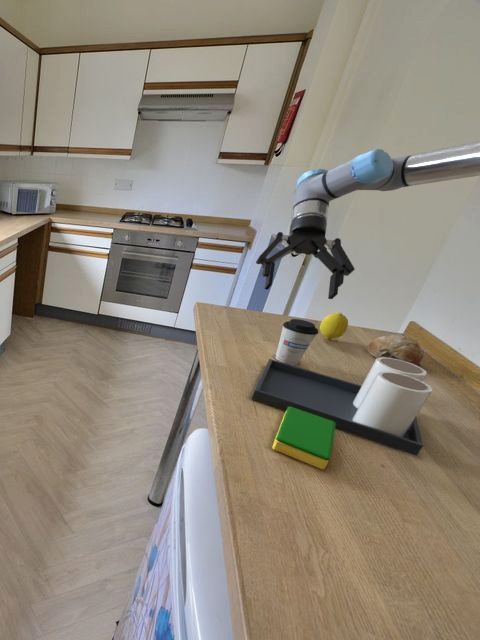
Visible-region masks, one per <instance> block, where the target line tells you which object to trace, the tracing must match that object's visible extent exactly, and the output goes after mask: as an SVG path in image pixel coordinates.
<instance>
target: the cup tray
mask: <svg viewBox="0 0 480 640" xmlns="http://www.w3.org/2000/svg"><path fill="white" fill-rule="evenodd" d="M265 365H266V366H265V368H264V370H263V372H262V374H261V376H260V378H259V381H258V383H257V385H256V387H255V389H254V392H253V394H252V396H251V400H253V401H255V402H258V403H261V404H265V405H267V406H271V407H274V408H276V409H278V410H282V411H284V412H286V411H287V408H288V407H293V408H296V409H299V410H302V411H305V412H308V413H311V414H313V415H316V416H319V417H322V418H325V419H328V420H331V421H334V422H335V423H336V426H335V429H337V430H340V431H342V432H345V433H348V434H351V435H355V436H357V437H359V438H363V439H366V440H369V441H372V442H374V443H377V444H380V445H383V446H386V447H388V448H392V449H395V450H398V451H401V452H403V453H406V454H409V455H412V456H415V457H417V456H418V455H419V453H420V451H421V450H422V449H423V447H424V444H423V443H424V442H423V439H422V435H421V430H420V425H419V421H418V417H417V416H416V417H415V419H414V420H413V422H412V424H411V425H410V427H409V428H408V430H407V431H406V433H405V435H404V436H403V437H400V436H397V435H394V434H391V433H388V432H385V431H382V430H379V429H375V428H372V427H369V426H366V425H363V424H360V423H357V422H354V421H353V420H352V419H353V417H354V415H355V413H356V411H357V410H358V408H356V407H355V406H354V405H353V401H354V399H355V397H356V395H357V393H358V392H359V390H360V388H361V386H362V384H359V383H358V384H357V383H354V382H351V381H347V380H344V379H341V378H337V377H334V376H330V375H326V374H323V373H319V372H316V371H313V370H309V369H306V368H303V367H299V366H296V365H292V364H287V363H283V362H281V361H279V360H274V359H271V358H269V359H268V361H267V363H266V364H265Z"/></svg>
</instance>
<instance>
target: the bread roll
mask: <svg viewBox="0 0 480 640" xmlns="http://www.w3.org/2000/svg"><path fill="white" fill-rule="evenodd" d="M366 349H367V352H368V353H369V354H370V355H371V356H372V357H374V358H375V359H377V358H379V357H386V358H393V359H398V360H402V361H406V362H409V363H411V364H414V365H416V366H418V365H419V364H421V362H422V361H423V359H424V357H425V352H424V349H423V347H421V346H420V344H419V343H418V342H417V341H416V340H414V339H413V338H412V337H410V336H407V335H403V334H392V335H383V336H377V337H376V338H374V339H372V340H371V342H370V343H369V344H368V346H367V348H366Z"/></svg>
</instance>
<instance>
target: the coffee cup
mask: <svg viewBox="0 0 480 640" xmlns="http://www.w3.org/2000/svg"><path fill="white" fill-rule="evenodd" d="M318 334H319V329H318V328H317V327H316V324H314V323H313V322H311V321H308V320H304V319H300V318H299V319H298V318H291V319H290V320H287V321H285V322H283V324H282V330H281V334H280V336H279V337H280V338H279V342H278V346H277V350H276V354H275V359H276V361H278V362H282V363H285V364H289V365H292V366H296V365H298V364H299V363H300V361H301V359H302V357H303V356H304V354H305V353H306V351H307V350H308V348H309V346H310V345H311V344H312V342H313V340H314V339H315V337H316V335H318Z"/></svg>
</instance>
